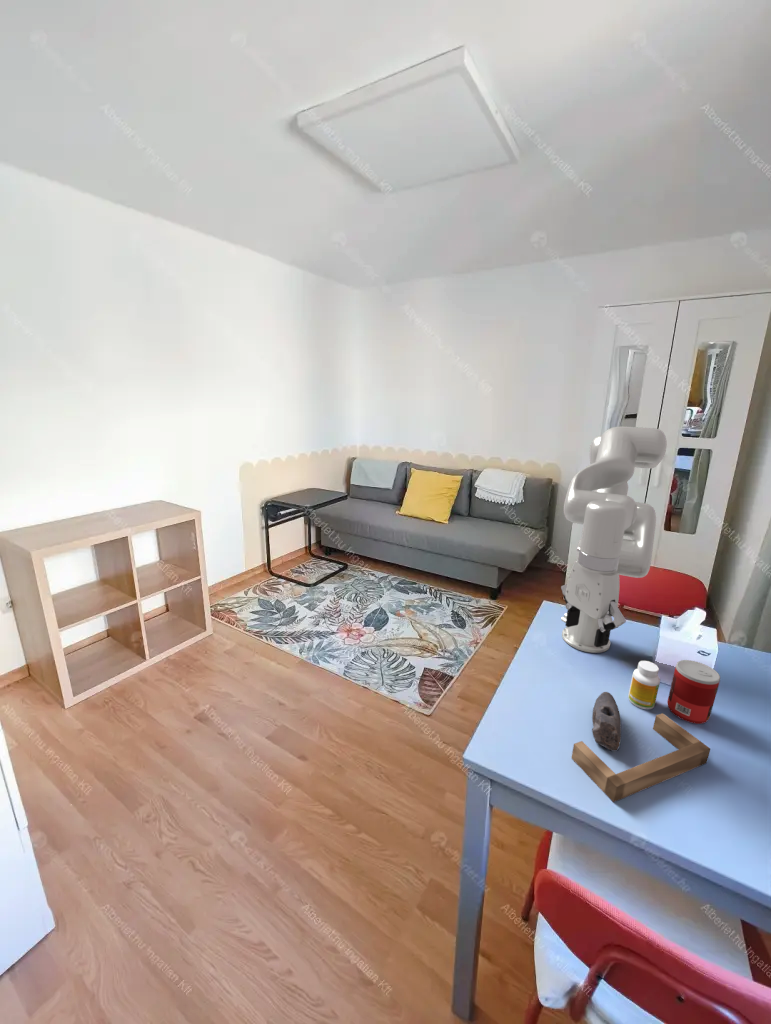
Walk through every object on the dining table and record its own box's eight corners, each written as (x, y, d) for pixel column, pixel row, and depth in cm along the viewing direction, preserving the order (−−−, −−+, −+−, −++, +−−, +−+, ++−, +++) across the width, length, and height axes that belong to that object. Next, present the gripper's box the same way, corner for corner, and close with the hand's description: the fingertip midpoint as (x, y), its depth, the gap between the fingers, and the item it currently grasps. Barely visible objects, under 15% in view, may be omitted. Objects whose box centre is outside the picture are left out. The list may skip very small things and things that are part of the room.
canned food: (716, 727, 94) (728, 684, 91) (674, 721, 95) (685, 678, 92) (699, 703, 101) (709, 662, 98) (661, 697, 102) (670, 657, 99)
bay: (571, 758, 85) (573, 743, 84) (659, 726, 94) (662, 713, 93) (613, 802, 76) (616, 786, 75) (706, 763, 85) (710, 748, 84)
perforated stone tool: (591, 703, 100) (595, 678, 98) (616, 711, 98) (622, 685, 96) (588, 750, 87) (594, 722, 85) (618, 760, 85) (624, 731, 83)
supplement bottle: (655, 713, 98) (664, 676, 95) (628, 705, 100) (636, 669, 97) (653, 698, 102) (661, 662, 99) (627, 691, 104) (634, 656, 102)
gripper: (553, 547, 97) (544, 618, 102) (619, 580, 81) (604, 661, 86) (580, 544, 99) (569, 613, 104) (648, 574, 84) (632, 654, 89)
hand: (585, 634), depth 95 cm, fingers open, 7 cm apart
